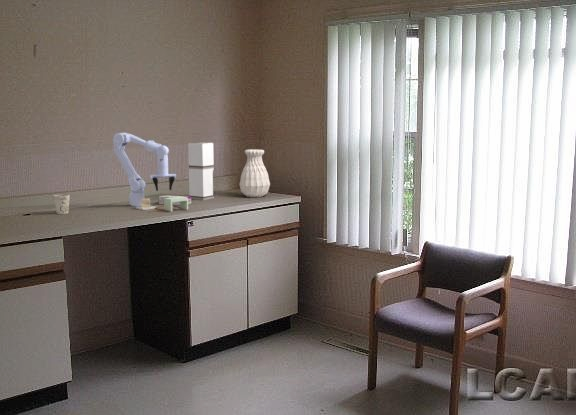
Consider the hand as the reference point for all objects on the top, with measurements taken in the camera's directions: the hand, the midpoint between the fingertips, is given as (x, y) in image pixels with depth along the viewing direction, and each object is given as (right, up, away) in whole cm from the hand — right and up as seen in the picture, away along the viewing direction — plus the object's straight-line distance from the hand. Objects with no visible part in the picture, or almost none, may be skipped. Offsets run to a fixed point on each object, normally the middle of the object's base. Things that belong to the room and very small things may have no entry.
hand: (163, 190), depth 378 cm
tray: (-8, -11, -9) cm, 16 cm away
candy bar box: (+13, -6, +9) cm, 17 cm away
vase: (+50, -3, +47) cm, 69 cm away
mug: (-53, -13, -17) cm, 57 cm away
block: (-8, -10, -9) cm, 16 cm away
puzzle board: (0, -11, -9) cm, 15 cm away
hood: (+10, -11, -14) cm, 20 cm away
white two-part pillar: (+17, -4, +38) cm, 42 cm away
